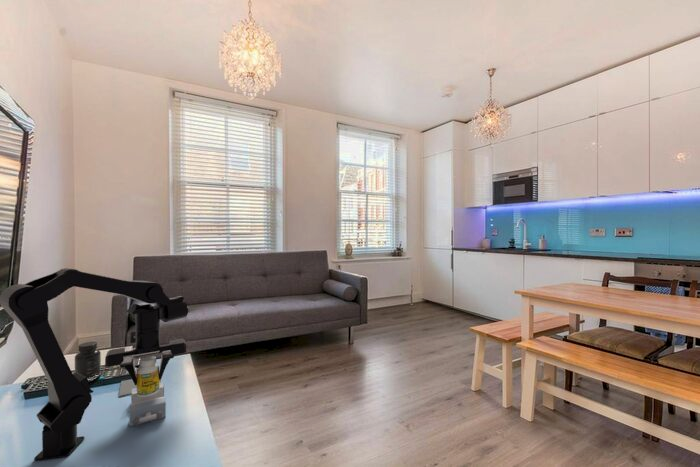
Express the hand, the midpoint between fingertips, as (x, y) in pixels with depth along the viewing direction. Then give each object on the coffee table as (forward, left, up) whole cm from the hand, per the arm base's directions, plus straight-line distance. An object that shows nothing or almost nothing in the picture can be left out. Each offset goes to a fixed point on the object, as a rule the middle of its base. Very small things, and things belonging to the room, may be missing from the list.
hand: (148, 382), depth 90 cm
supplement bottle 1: (+24, +27, -8) cm, 37 cm away
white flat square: (+16, +8, -8) cm, 19 cm away
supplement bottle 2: (0, 0, -3) cm, 3 cm away
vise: (-1, 0, -8) cm, 8 cm away
